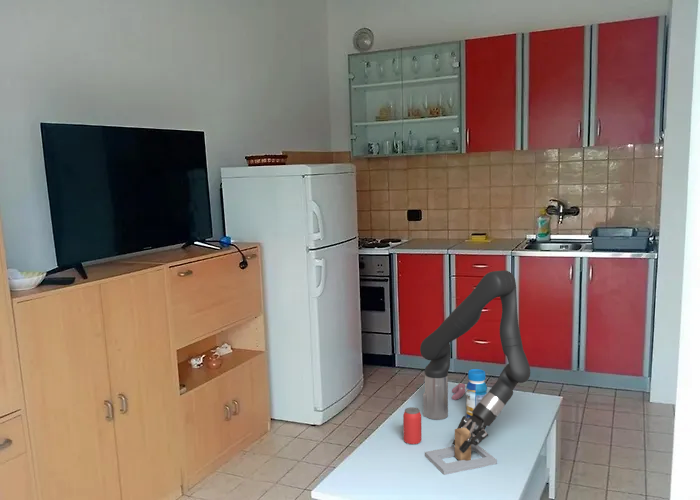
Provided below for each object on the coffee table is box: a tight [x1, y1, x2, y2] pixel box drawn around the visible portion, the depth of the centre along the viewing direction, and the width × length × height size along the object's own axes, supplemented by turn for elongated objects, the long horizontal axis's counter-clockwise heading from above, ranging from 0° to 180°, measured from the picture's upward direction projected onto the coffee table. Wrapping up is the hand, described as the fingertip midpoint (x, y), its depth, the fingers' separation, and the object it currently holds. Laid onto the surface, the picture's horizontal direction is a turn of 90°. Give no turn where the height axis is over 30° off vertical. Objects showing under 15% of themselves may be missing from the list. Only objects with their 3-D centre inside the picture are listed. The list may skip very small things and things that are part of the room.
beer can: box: [402, 406, 422, 445], centre depth 213 cm, size 7×7×12 cm
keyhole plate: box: [424, 444, 498, 476], centre depth 199 cm, size 20×14×2 cm
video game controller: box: [451, 382, 467, 401], centre depth 256 cm, size 10×5×7 cm, turn 170°
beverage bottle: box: [465, 368, 488, 418], centre depth 230 cm, size 8×8×20 cm
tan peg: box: [454, 427, 472, 461], centre depth 198 cm, size 4×4×10 cm
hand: (457, 448), depth 198 cm, fingers closed on tan peg, 4 cm apart
